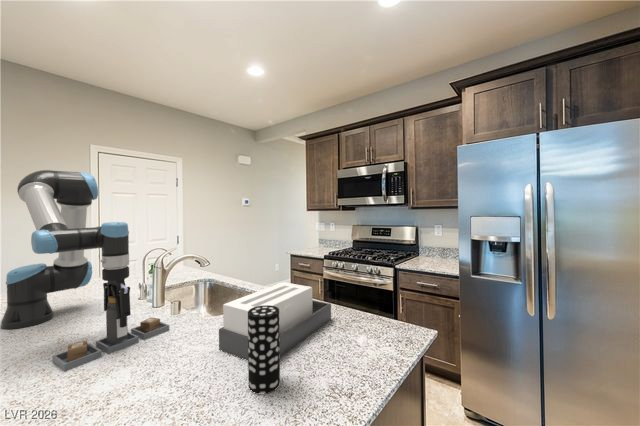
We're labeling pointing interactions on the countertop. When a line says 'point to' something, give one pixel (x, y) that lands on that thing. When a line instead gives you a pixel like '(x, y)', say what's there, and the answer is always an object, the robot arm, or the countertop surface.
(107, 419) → the countertop surface
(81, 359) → the dish
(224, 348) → the toaster caddy
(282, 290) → the toaster
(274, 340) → the spotted tube
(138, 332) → the dish
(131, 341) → the dish
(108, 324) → the bottle
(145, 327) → the cube
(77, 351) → the cube
